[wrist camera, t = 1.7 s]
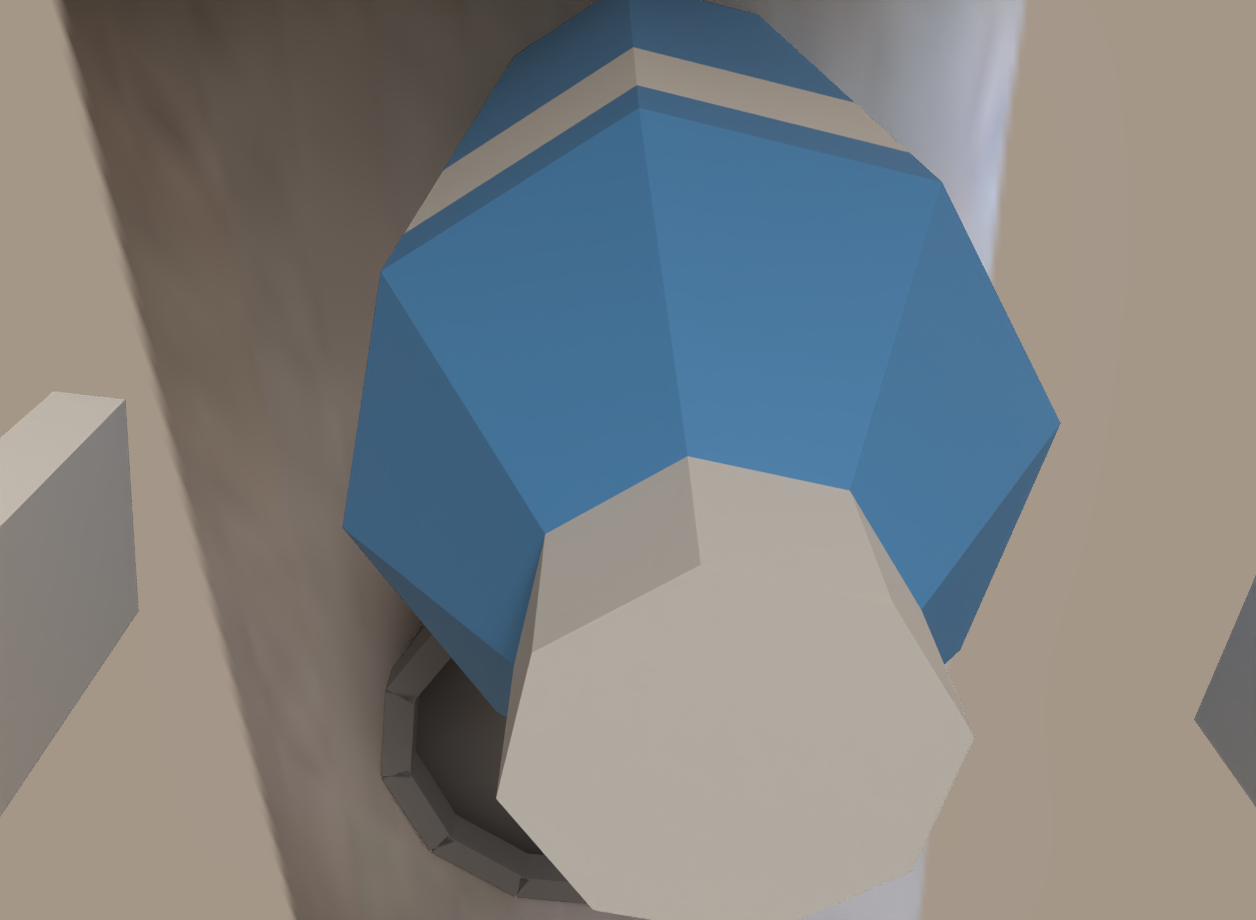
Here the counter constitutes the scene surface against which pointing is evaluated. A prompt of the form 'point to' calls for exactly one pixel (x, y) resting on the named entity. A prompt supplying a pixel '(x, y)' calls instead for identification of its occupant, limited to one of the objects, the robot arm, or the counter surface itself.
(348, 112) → the counter surface
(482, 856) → the coaster ring
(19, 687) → the robot arm
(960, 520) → the water bottle
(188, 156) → the counter surface
